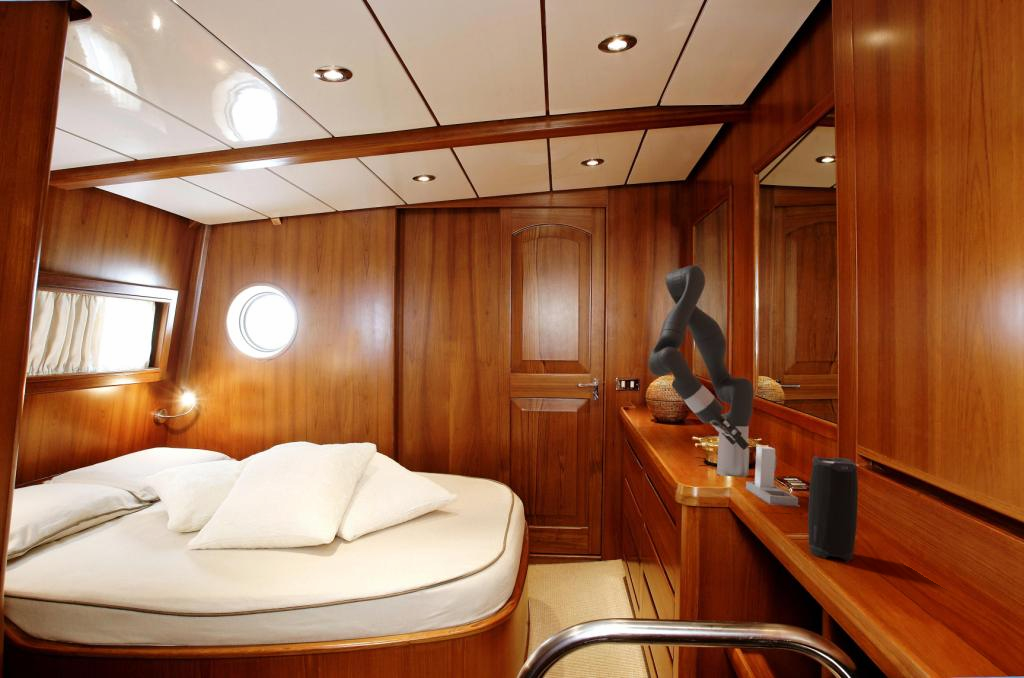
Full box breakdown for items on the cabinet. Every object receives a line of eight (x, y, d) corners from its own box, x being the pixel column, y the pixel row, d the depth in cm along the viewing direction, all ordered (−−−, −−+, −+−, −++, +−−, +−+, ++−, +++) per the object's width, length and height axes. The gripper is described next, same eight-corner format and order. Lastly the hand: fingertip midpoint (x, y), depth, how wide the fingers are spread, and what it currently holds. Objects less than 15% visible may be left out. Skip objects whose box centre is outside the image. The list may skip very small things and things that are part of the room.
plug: (769, 491, 161) (771, 447, 162) (775, 494, 158) (777, 449, 158) (754, 490, 161) (756, 446, 162) (759, 493, 158) (762, 448, 158)
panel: (770, 492, 164) (771, 482, 164) (800, 510, 146) (800, 498, 146) (743, 490, 164) (744, 480, 164) (769, 508, 146) (770, 496, 146)
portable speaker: (839, 548, 117) (844, 456, 117) (864, 565, 107) (869, 465, 108) (798, 545, 117) (802, 453, 118) (819, 561, 108) (824, 462, 108)
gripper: (720, 397, 154) (760, 440, 153) (704, 393, 168) (740, 432, 167) (700, 414, 154) (740, 458, 153) (686, 409, 168) (722, 449, 167)
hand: (740, 445), depth 160 cm, fingers open, 8 cm apart
